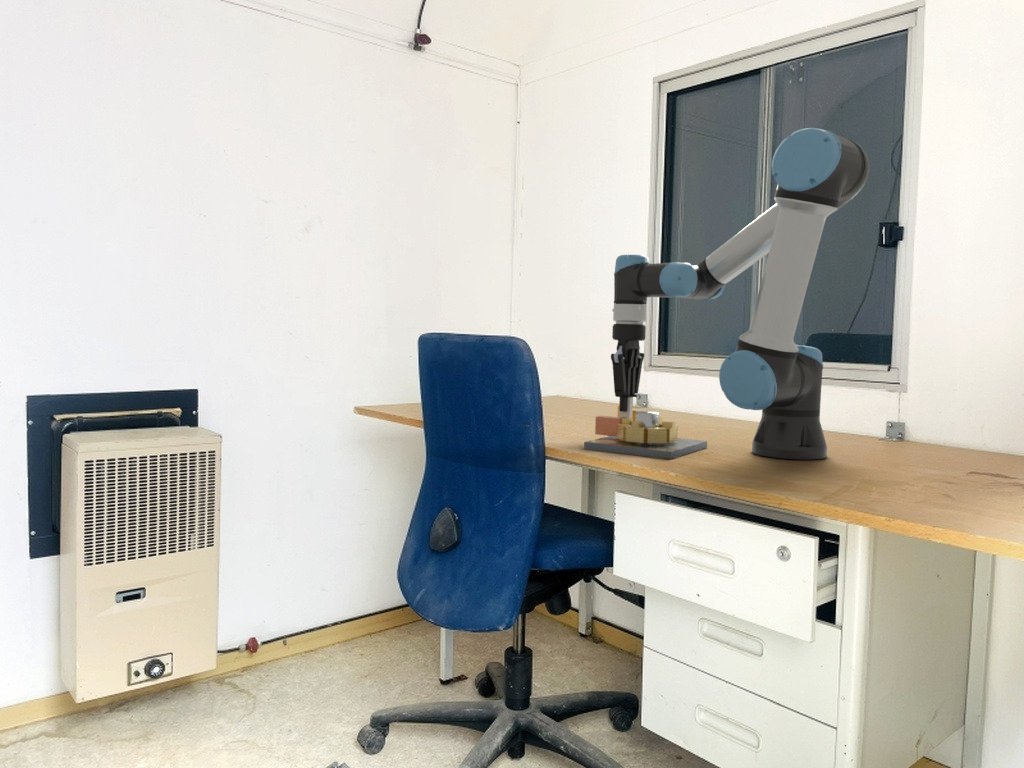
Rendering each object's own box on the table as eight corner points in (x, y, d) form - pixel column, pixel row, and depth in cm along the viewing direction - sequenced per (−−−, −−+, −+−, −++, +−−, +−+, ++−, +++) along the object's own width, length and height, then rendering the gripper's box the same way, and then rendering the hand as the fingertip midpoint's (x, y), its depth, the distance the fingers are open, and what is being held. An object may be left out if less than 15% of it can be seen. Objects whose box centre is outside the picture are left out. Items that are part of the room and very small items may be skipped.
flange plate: (707, 447, 179) (708, 412, 178) (670, 459, 162) (672, 419, 162) (625, 438, 190) (626, 405, 189) (584, 448, 173) (585, 411, 173)
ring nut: (684, 438, 178) (685, 419, 177) (661, 444, 167) (662, 424, 167) (610, 430, 188) (611, 413, 187) (584, 436, 178) (585, 417, 177)
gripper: (627, 323, 192) (623, 421, 194) (601, 322, 181) (597, 426, 183) (656, 323, 188) (651, 424, 190) (631, 323, 177) (627, 429, 179)
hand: (625, 425), depth 187 cm, fingers closed
